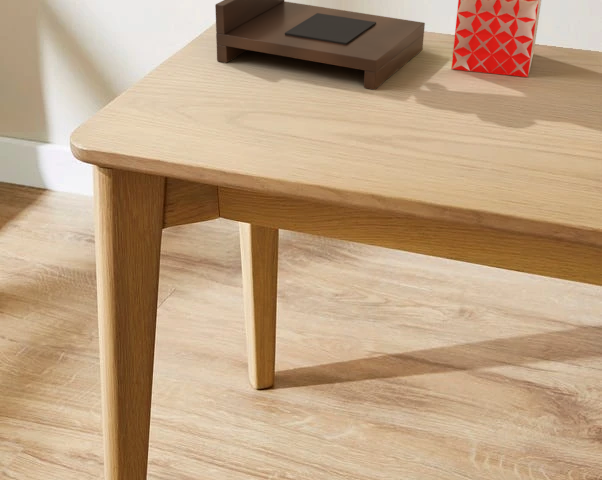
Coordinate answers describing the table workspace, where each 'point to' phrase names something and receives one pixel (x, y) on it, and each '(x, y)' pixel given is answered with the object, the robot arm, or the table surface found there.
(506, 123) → the table surface
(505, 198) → the table surface
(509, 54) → the red and white cube
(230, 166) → the table surface
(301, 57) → the shelf
